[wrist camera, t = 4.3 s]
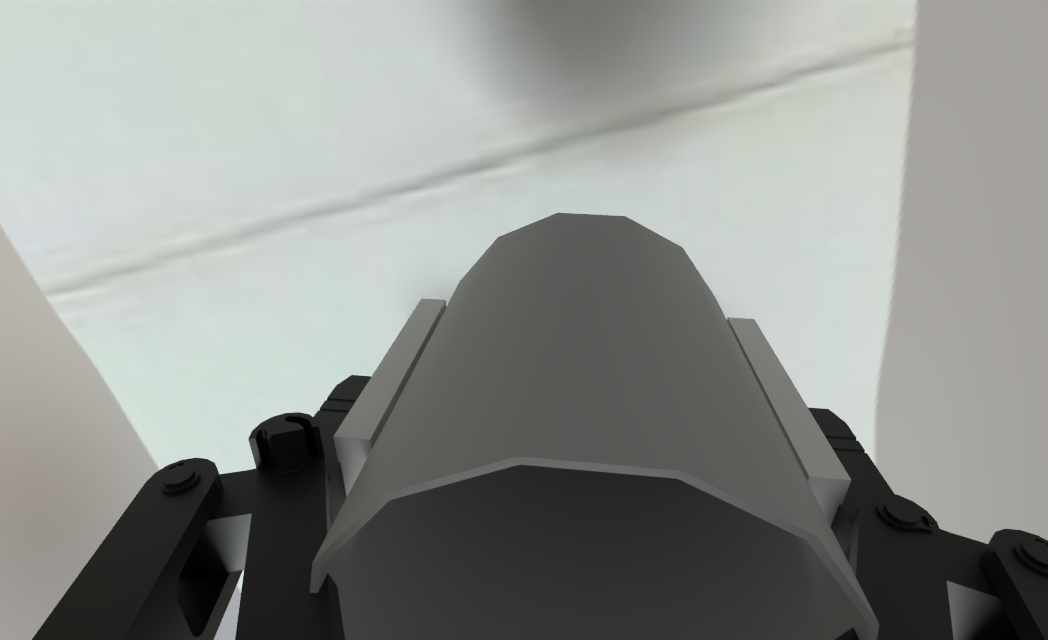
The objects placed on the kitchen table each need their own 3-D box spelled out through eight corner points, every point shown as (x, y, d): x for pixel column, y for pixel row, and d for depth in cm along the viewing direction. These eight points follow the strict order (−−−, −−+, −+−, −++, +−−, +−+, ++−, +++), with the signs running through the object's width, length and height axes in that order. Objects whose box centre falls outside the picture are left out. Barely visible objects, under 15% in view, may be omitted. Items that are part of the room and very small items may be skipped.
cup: (746, 222, 15) (989, 497, 6) (694, 454, 18) (794, 832, 10) (443, 206, 15) (249, 432, 6) (454, 433, 19) (341, 768, 10)
